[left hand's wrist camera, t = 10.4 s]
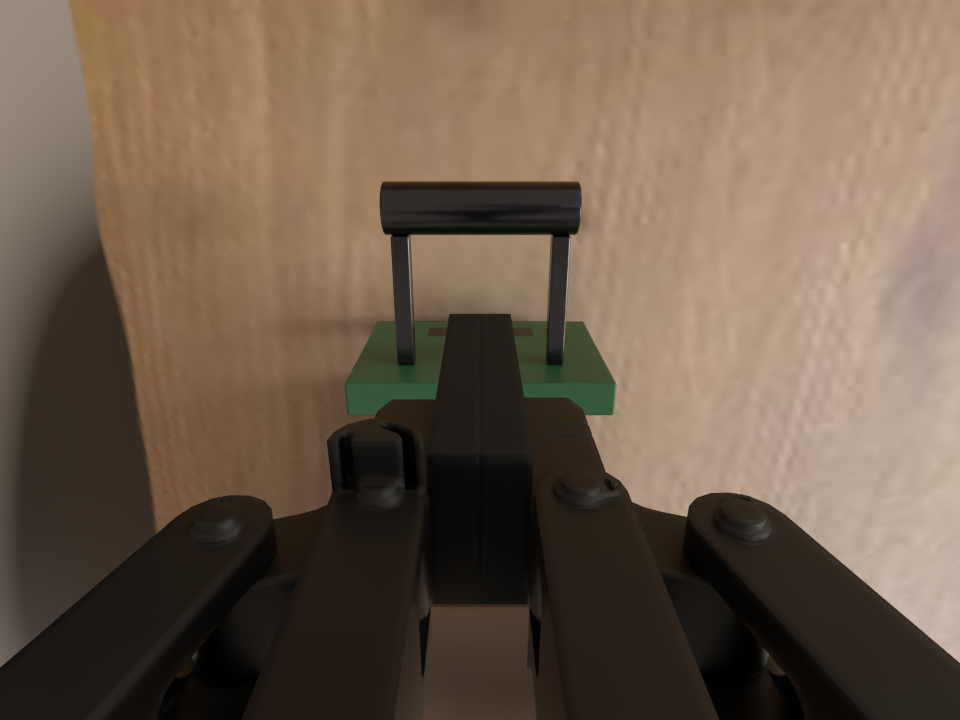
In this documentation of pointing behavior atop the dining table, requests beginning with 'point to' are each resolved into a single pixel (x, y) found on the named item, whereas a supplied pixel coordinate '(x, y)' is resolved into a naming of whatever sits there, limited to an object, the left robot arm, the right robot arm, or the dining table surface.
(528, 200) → the drawer
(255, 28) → the dining table surface
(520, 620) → the cabinet
